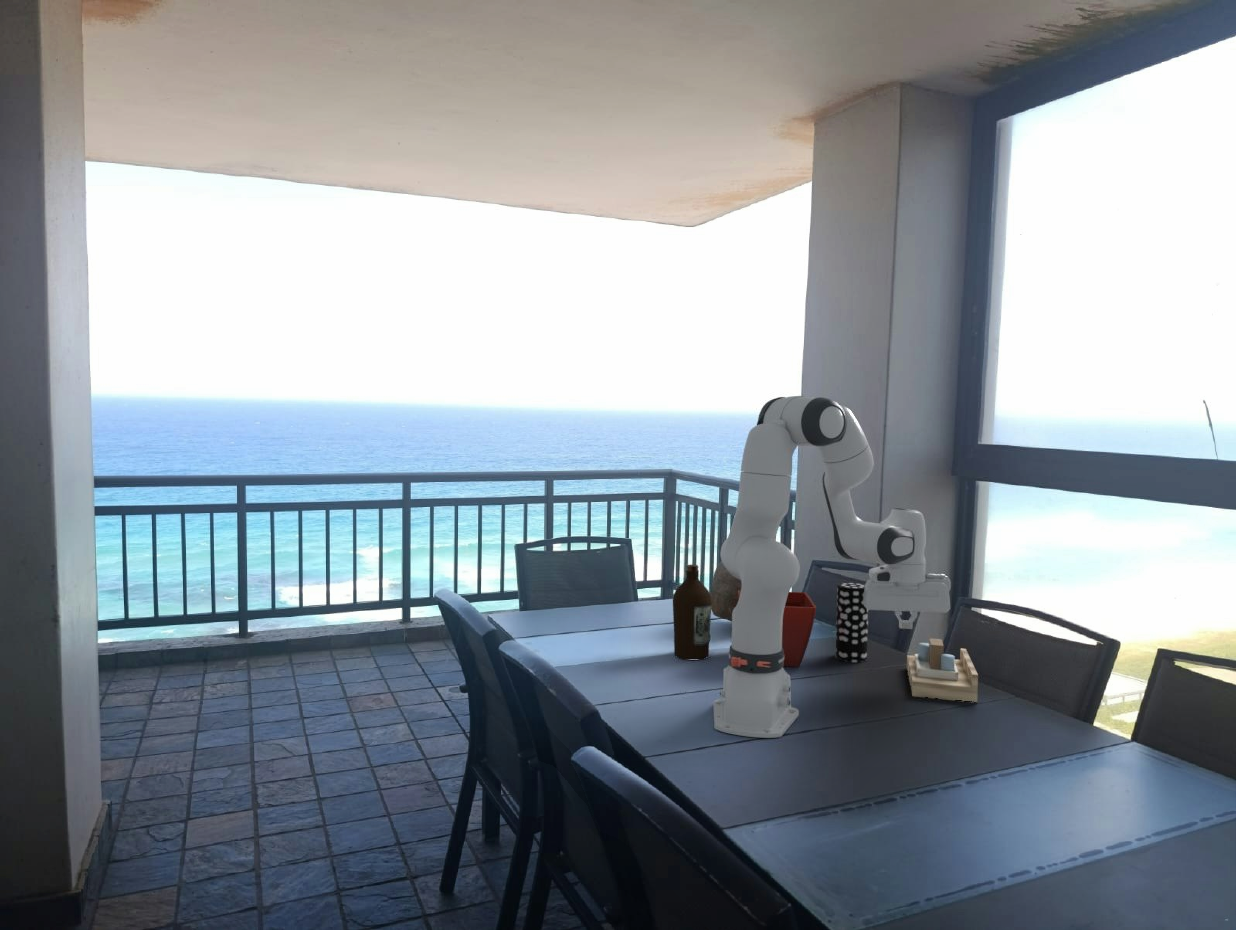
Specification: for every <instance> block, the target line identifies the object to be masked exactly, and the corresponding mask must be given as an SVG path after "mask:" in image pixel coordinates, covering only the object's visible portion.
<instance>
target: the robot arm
mask: <svg viewBox="0 0 1236 930" xmlns="http://www.w3.org/2000/svg"><path fill="white" fill-rule="evenodd" d="M862 428H863V427H862V426H861V425H860V422H859V421H858V420H857V417H856V416H855V415H854V413H853V411H851V409H849V408H848V407H847V406H844V405H840V404H839V403H838V402H836V401H834V400H833V399H830V398H827V397H812V396H804V395H794V396H779V397H775V398H773V399H770V400H769V401H767V402H765V404H763V406H762V408H760V412H759V414H758V418H757V422H756V425H755V426H754V427H752V428H751V429H750V430H749V432H748V434H747V438H746V441H745V443H744V444H745V445H744V449H743V452H742V453H743V454H742V459H741V464H740V465H741V466H740V474H739V475H740V477H739V486H738V495H737V496H738V497H737V503H736V504H737V505H736V510H735V515H734V518H733V520H732V525H731V527H730V531H729V533H728V536H727V537H726V539H725V540H724V541H723V542H722V543H723V544H722V545H721V549H720V560H721V561H722V563H723V565H724V566H725V568H726V569H727V570H728V572H729V573H730V574H731V575H732V576H734V577H735V578H737V579H739V580H741V583H742V586H741V593H740V597H739V600H738V603H737V606H736V607H735V608H734V610H733V612H732V622H731V645H730V646H729V651H728V665H727V666H726V667H724V668H723V688H722V690H720V691H719V697H721V698H718V699H715V700H713V704H712V705H713V706H712V707H713V709H712V710H713V711H712V713H713V727H714V728H713V729H715V730H717V731H720V732H722V733H727V734H731V735H737V736H743V737H749V738H750V737H751V738H762V739H763V738H764V739H765V738H766V739H771V738H772V739H773V738H781V737H782V736H783V735H784V734H785V733H786V731H787V730H788V729H789V728H790V727H791V725H792V724H793V723H794V722H795V720H797V718H798V717H799V715H800V714H799V713H800V711H799V709H798V708H796V707H794V706H792V701H791V699H792V698H791V697H792V695H791V693H792V692H791V676H790V674H789V673H788V672H787V671H786V670H785V668H784V667H785V666H784V649H783V648H782V627H783V613H784V608H785V604H786V600H787V597H788V593H789V592H790V590H791V588H792V587H794V586H795V585H796V583H797V582H798V580H799V577H800V571H801V567H800V566H801V565H800V561H799V559H798V557H797V556H796V554H795V553H794V552H793V551H792V550H791V549H790V548H789V547H788V546H787V545H785V544H784V543H782V542H779V541H778V540H777V541H776V539H777V534H778V530H779V528H780V524H781V523H782V521H783V518H785V516H786V515H787V514H788V512H789V507H790V506H789V505H790V497H791V496H790V495H791V487H792V475H793V474H792V473H793V456H794V452H795V451H796V449H797V448H798V447H813V446H814V447H817V450H818V453H819V456H820V459H821V460H822V463H823V467H824V472H823V473H822V480H821V481H822V483H821V484H822V488H823V489H822V490H823V494H824V496H825V497H824V498H825V502H826V505H827V508H828V512H829V516H830V519H831V524H832V527H833V528H832V529H833V540H834V541H833V543H834V546H835V548H836V549H835V550H836V551H837V553H838V554H839V555H840V556H841V557H842V558H844V559H846V560H854V561H863V562H868V563H875V564H881V565H879V566H877V567H871V568H870V569H869V570H868V577H869V579H868V580H867V581H866V582H865V583H864V584H865V589H864V596H863V604H864V606H865V607H866V609H868V611H892V612H894V614H895V617H896V618H897V619H898V629H902V630H904V629H907V630H913V625H914V624H913V623H914V622H915V620H916V619H917V618H918V613H920V612H925V613H926V612H927V613H948V612H949V610H950V609H951V597H950V591H951V587H952V582H951V579H950V578H949V576H946V575H945V574H943V573H938V574H935V573H926V565H927V564H926V562H927V560H926V557H925V549H926V546H927V531H926V530H927V529H926V520H925V516H924V515H923V512H921V511H919V510H916V509H910V508H903V507H902V508H901V507H894V508H892V509H891V511H890V512H889V513H890V514H889V515H888V516H887V517H886V518H885V519H884V520H882V521H880V522H879V523H878V522H870V521H866V520H865V521H864V520H862V519H861V518H859V517H858V516H857V515H856V512H855V509H854V505H853V501H852V496H851V489H853V488H856V487H857V486H859V485H861V484H862V483H863V482H864V481H866V480H867V479H868V478H869V477H870V475H871V474H872V472H873V469H874V466H875V461H874V460H875V459H874V456H873V451H872V449H871V447H870V443H869V442H868V440H867V437H866V435H865V433H864V430H863V429H862ZM902 612H909V613H910V617H909V618H908V620H907V619H906V620H905V619H902V618H901V616H902V615H903V614H902Z"/></svg>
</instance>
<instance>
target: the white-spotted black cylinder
mask: <svg viewBox="0 0 1236 930" xmlns="http://www.w3.org/2000/svg"><path fill="white" fill-rule="evenodd" d="M865 584H866V583H860V582H840V583H839V582H838V583H837V584H836V618H835V619H836V621H835V623H836V624H835V628H836V629H835V630H836V631H835V658H836V659H837V660H839V659H840V661H842V660H843V661H842V662H846V663H847V662H848V663H863V662H866V661H868V650H869V649H868V645H869V644H868V643H869V610H868V609H866V607H865V606H864V604H863V596H864V589H865Z"/></svg>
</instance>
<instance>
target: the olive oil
mask: <svg viewBox="0 0 1236 930" xmlns="http://www.w3.org/2000/svg"><path fill="white" fill-rule="evenodd" d="M699 572H700V571H699V565H698V564H687V565H686V572H685V575H686V576H685V577H686V578H685V579H684V581H683V582H682V583H681V584H680V585H679V586H678V587H677V588H676V589H675V591H674V593H673V597H672V615H673V617H672V618H673V620H672V621H673V645H674V646H673V647H674V648H673V649H674V650H673V652H674V654H675V655H674V654H673V655H674V657H676V656H677V657H679V658H678V659H680V658H681V660H684V659H702V660H705V659H704V658H706V657H707V658H708V657H710V656H709V655H710V653H709V651H710V642H711V634H710V633H711V631H710V630H711V618H712V617H711V615H712V609H711V606H712V600H711V592H710V591H709V590H708V588H707V587H706V586H705V585H704V584H703V583H702V582H701V580H700V579H699V577H700V576H699ZM677 657H676V658H677ZM707 658H706V659H707Z"/></svg>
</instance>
